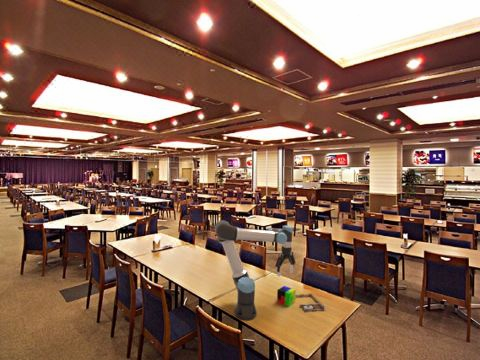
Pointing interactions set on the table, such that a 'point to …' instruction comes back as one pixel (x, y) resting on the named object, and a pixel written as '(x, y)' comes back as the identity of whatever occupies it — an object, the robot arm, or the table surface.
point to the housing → (316, 307)
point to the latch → (308, 307)
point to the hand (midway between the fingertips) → (285, 274)
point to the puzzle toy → (286, 295)
